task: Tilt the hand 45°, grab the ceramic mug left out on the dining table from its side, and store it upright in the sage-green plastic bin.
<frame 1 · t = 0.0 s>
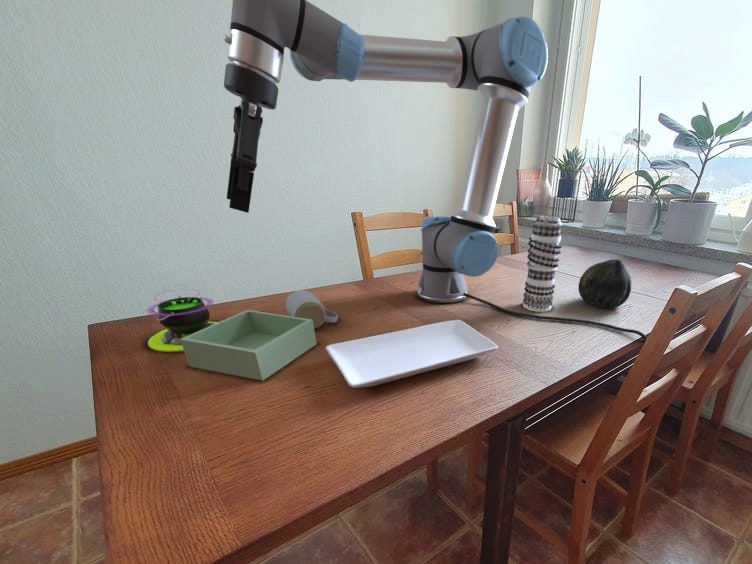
hand: (236, 205, 68), 28 cm above the table, tool tilted 20°, fingers open, 13 cm apart
squash: (601, 304, 115), on the table
bin: (257, 354, 76), on the table
toy cauldron: (192, 337, 82), on the table
tray: (415, 361, 78), on the table
ceramic mug: (315, 324, 91), on the table
decorative candle: (536, 307, 110), on the table
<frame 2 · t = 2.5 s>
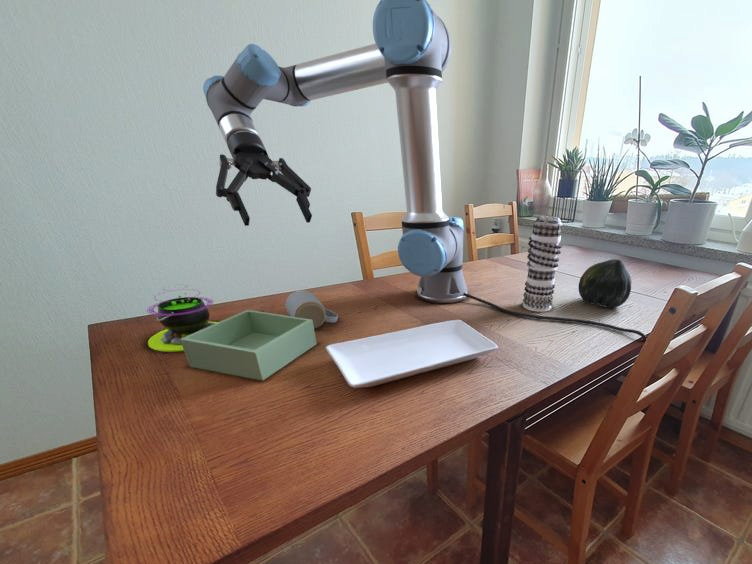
hand: (280, 220, 86), 23 cm above the table, tool tilted 45°, fingers open, 13 cm apart
nothing on the table moved.
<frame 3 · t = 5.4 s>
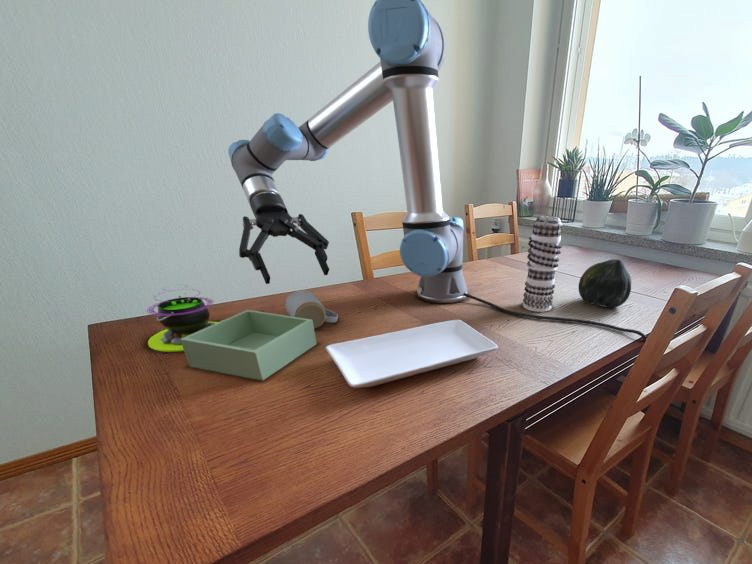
hand: (299, 276, 89), 10 cm above the table, tool tilted 45°, fingers open, 13 cm apart
nothing on the table moved.
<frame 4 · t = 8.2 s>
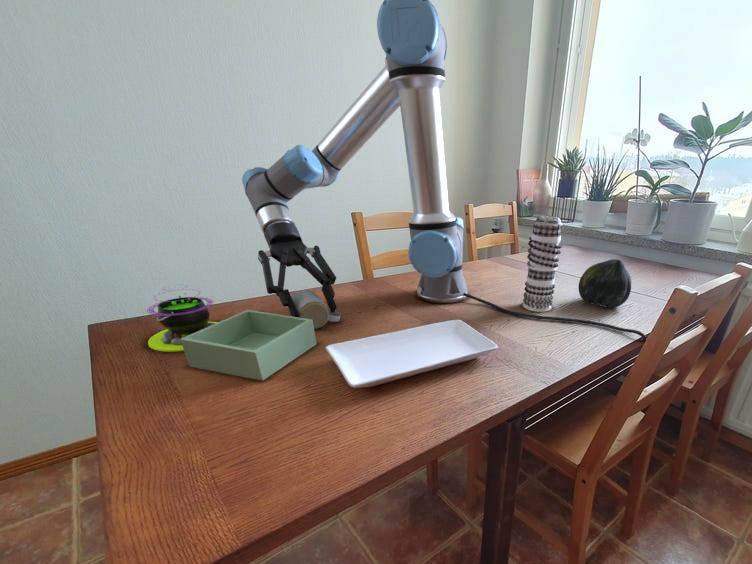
hand: (315, 313, 87), 4 cm above the table, tool tilted 45°, fingers closed on ceramic mug, 8 cm apart
ceramic mug: (317, 324, 92), on the table, touching gripper
everything else where it was.
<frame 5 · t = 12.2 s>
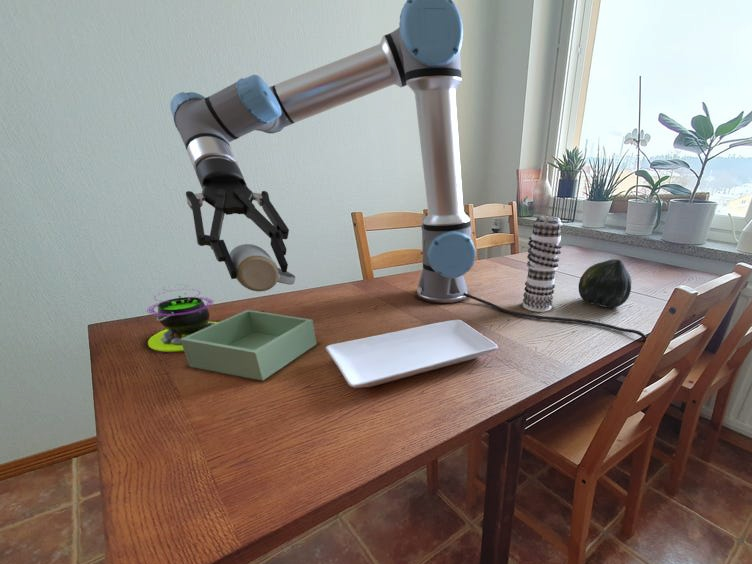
hand: (260, 271, 70), 17 cm above the table, tool tilted 45°, fingers closed on ceramic mug, 8 cm apart
ceramic mug: (266, 287, 75), point 13 cm above the table, touching gripper
everything else where it was.
when the fingers open (5 cm above the table, at t = 16.5 s): ceramic mug stays where it is, resting on bin.
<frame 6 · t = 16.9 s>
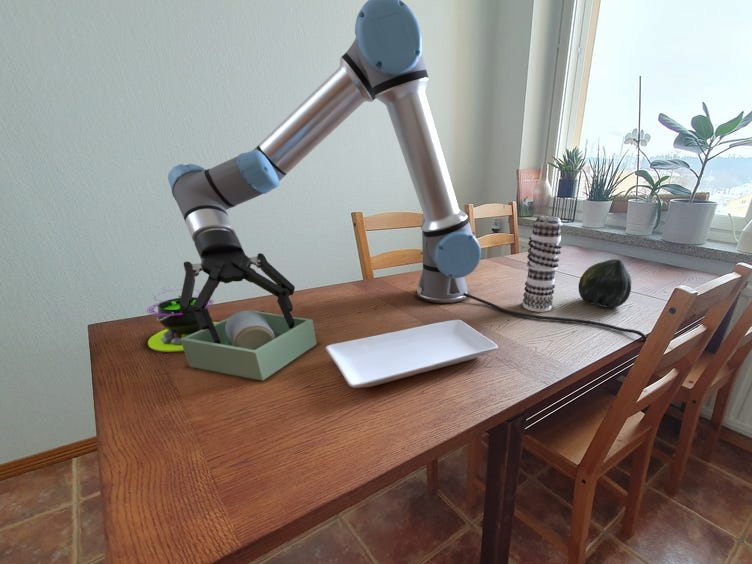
hand: (257, 334, 72), 5 cm above the table, tool tilted 45°, fingers open, 12 cm apart
ceramic mug: (263, 350, 77), point 1 cm above the table, touching bin
everything else where it was.
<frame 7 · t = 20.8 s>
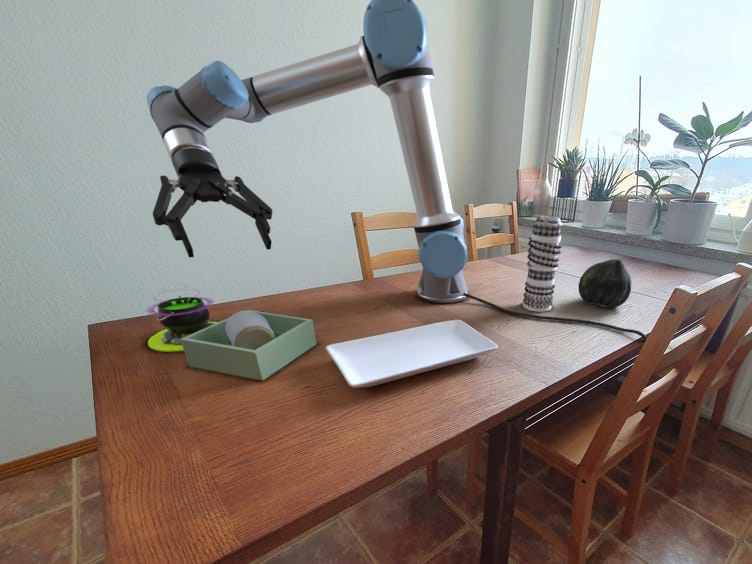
hand: (232, 249, 74), 19 cm above the table, tool tilted 45°, fingers open, 13 cm apart
nothing on the table moved.
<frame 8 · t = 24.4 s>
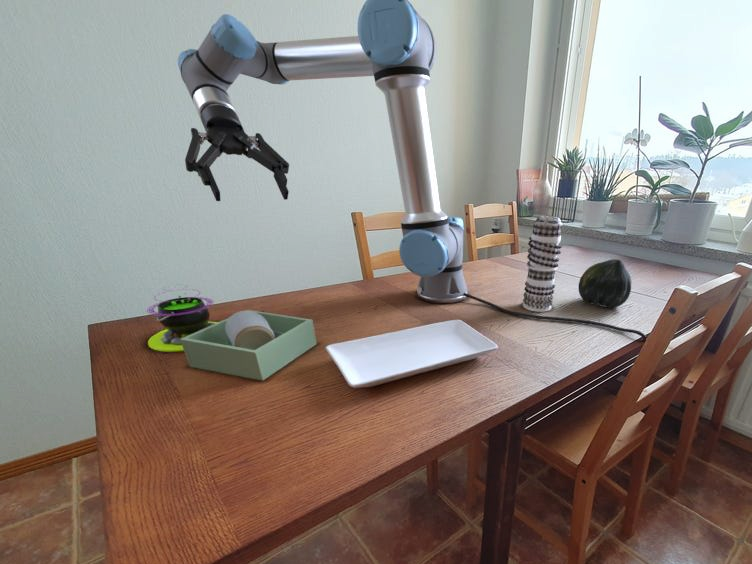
hand: (254, 196, 82), 28 cm above the table, tool tilted 45°, fingers open, 13 cm apart
nothing on the table moved.
at the end: ceramic mug inside the target area in the bin (1.1 cm from its centre), point 0.6 cm above the bin's base; ceramic mug tilted 2°; the gripper is holding nothing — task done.
